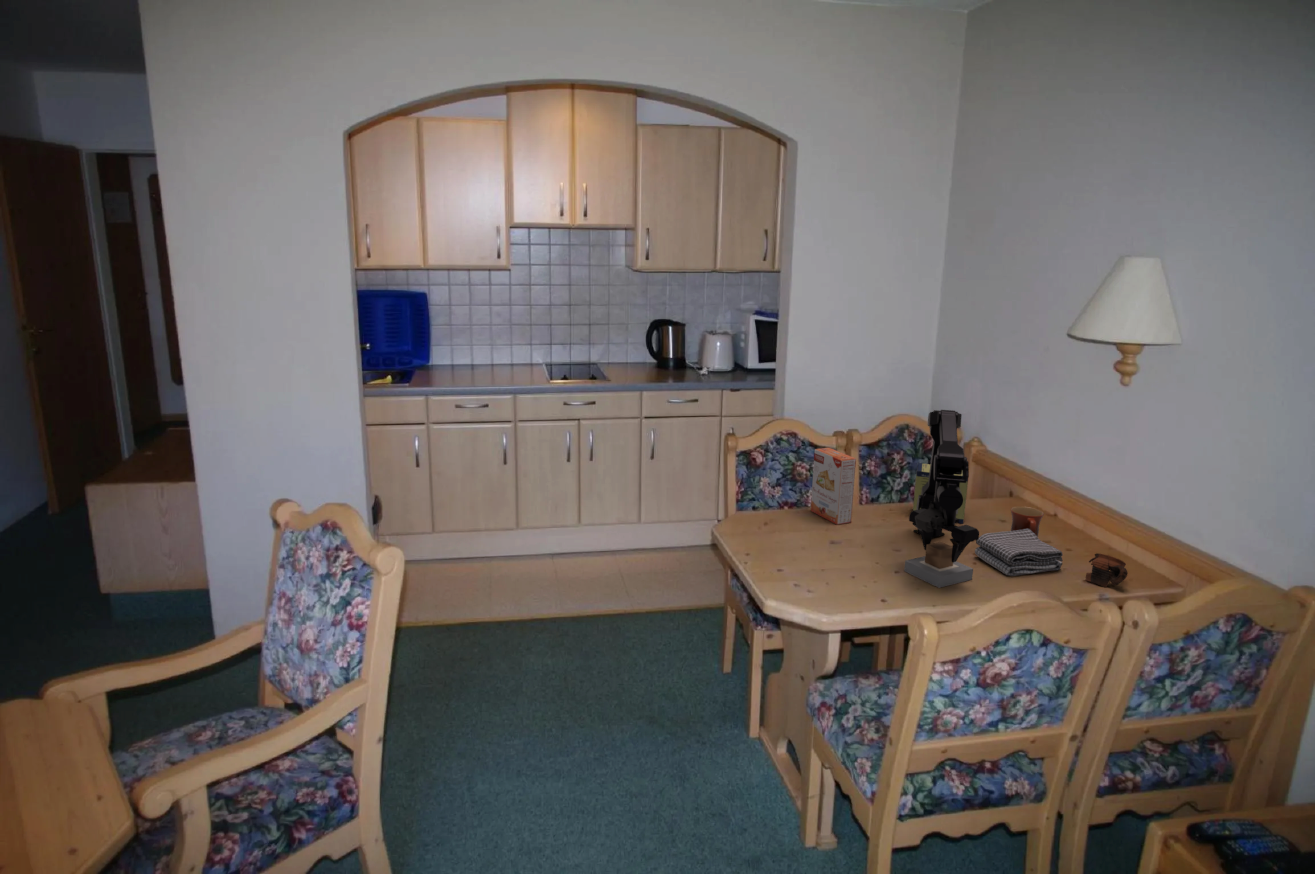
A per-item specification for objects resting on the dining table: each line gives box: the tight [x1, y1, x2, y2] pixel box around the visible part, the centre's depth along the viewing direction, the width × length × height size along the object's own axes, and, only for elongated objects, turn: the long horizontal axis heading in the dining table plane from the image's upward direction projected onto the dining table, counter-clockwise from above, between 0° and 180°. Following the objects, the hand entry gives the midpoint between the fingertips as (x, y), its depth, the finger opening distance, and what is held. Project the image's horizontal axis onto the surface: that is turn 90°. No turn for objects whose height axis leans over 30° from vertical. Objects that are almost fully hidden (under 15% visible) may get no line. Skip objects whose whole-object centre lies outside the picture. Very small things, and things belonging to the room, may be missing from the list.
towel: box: [974, 529, 1064, 577], centre depth 231 cm, size 15×18×8 cm
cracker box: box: [810, 447, 857, 525], centre depth 264 cm, size 14×6×21 cm, turn 25°
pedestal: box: [903, 555, 974, 589], centre depth 222 cm, size 12×12×3 cm
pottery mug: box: [1085, 552, 1129, 588], centre depth 220 cm, size 12×10×8 cm
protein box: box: [912, 462, 969, 525], centre depth 268 cm, size 10×16×16 cm
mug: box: [1010, 506, 1044, 538], centre depth 243 cm, size 12×9×10 cm
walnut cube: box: [924, 541, 953, 569], centre depth 221 cm, size 5×5×5 cm
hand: (939, 556), depth 221 cm, fingers open, 9 cm apart
